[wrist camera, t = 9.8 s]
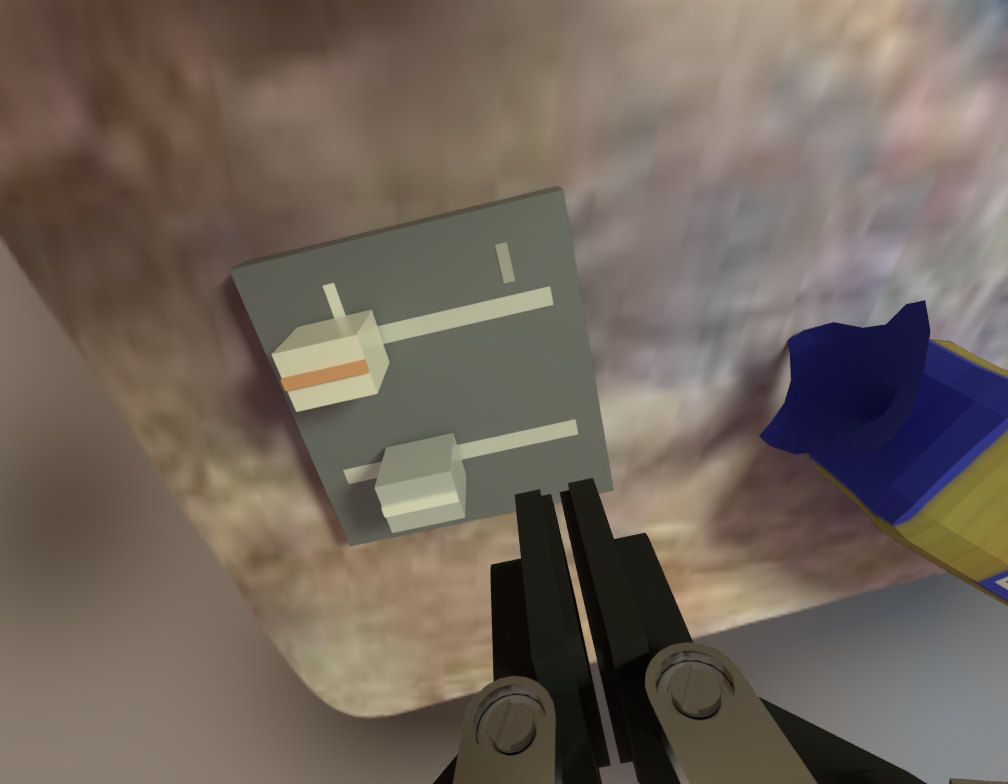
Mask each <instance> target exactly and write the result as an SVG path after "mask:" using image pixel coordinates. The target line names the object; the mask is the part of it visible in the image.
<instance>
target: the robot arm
mask: <svg viewBox="0 0 1008 784" xmlns="http://www.w3.org/2000/svg"><path fill="white" fill-rule="evenodd" d="M568 487H569V490H566V491H562V492H559V493H560V497H561V502H562V506H563V511H564V515H565V520H566V524H567V529H568V533H569V538H570V542H571V547H572V551H573V556H574V560H575V564H576V569H577V573H578V578H579V582H580V587H581V591H582V596H583V600H584V605H585V609H586V613H587V618H588V622H589V627H590V631H591V635H592V640H593V644H594V648H595V653H596V657H597V662H598V666H599V670H600V675H601V679H602V684H603V688H604V692H605V697H606V701H607V705H608V710H609V714H610V718H611V723H612V727H613V732H614V736H615V741H616V745H617V749H618V754H619V758H620V762H621V763H627V762H632V761H633V764H634V768H635V772H636V776H637V780H638V783H640V784H926V783H925V782H923V781H922V780H920V779H919V778H917V777H915V776H914V775H912V774H911V773H909V772H907V771H905V770H903V769H901V768H899V767H897V766H895V765H893V764H891V763H889V762H887V761H885V760H883V759H881V758H879V757H877V756H875V755H873V754H871V753H869V752H867V751H865V750H864V749H861V748H859V747H857V746H855V745H854V744H852V743H850V742H848V741H846V740H844V739H842V738H840V737H837V736H836V735H834V734H832V733H830V732H828V731H826V730H824V729H822V728H820V727H818V726H816V725H814V724H812V723H810V722H808V721H806V720H804V719H802V718H800V717H798V716H796V715H794V714H792V713H790V712H788V711H786V710H784V709H782V708H780V707H778V706H776V705H774V704H772V703H770V702H768V701H766V700H764V699H762V698H760V697H758V696H757V694H756V693H755V691H754V690H753V688H752V687H751V686H750V684H749V682H748V681H747V680H746V678H745V677H744V675H743V674H742V672H741V671H740V669H739V668H738V667H737V666H736V665H735V664H734V662H733V661H732V660H731V659H730V658H729V657H728V656H726V655H725V654H723V653H722V652H720V651H719V650H717V649H715V648H713V647H710V646H707V645H704V644H701V643H693V641H692V639H691V636H690V634H689V632H688V629H687V627H686V624H685V622H684V620H683V617H682V615H681V613H680V610H679V608H678V606H677V603H676V601H675V599H674V596H673V594H672V592H671V589H670V587H669V584H668V582H667V580H666V577H665V575H664V573H663V570H662V568H661V566H660V563H659V561H658V559H657V556H656V554H655V552H654V549H653V547H652V544H651V542H650V540H649V538H648V536H647V534H646V533H642V534H637V535H632V536H627V537H622V538H618V539H614V538H613V535H612V532H611V529H610V526H609V523H608V520H607V517H606V514H605V511H604V508H603V505H602V502H601V499H600V496H599V493H598V490H597V487H596V484H595V482H594V479H593V478H589V479H584V480H580V481H575V482H570V483H568ZM515 504H516V513H517V523H518V533H519V542H520V552H521V559H516V560H511V561H507V562H502V563H497V564H492V565H491V572H490V575H491V609H492V642H493V676H494V682H492V683H490V684H488V685H486V686H485V687H484V688H483V689H482V690H481V691H480V692H479V693H477V694H476V696H475V697H474V699H473V700H472V702H471V703H470V705H469V707H468V709H467V712H466V715H465V718H464V721H463V728H462V733H461V739H460V745H459V751H458V754H457V756H456V757H455V758H454V759H453V760H452V762H451V763H450V764H449V765H448V766H447V768H446V769H445V770H444V771H443V772H442V774H441V775H440V776H439V777H438V778H437V780H436V781H435V782H434V783H433V784H602V782H601V777H600V771H599V767H605V766H610V760H609V755H608V750H607V746H606V741H605V736H604V731H603V727H602V722H601V717H600V712H599V708H598V703H597V698H596V693H595V689H594V684H593V679H592V675H591V670H590V665H589V660H588V656H587V651H586V646H585V641H584V637H583V632H582V627H581V622H580V618H579V613H578V608H577V604H576V599H575V594H574V590H573V586H572V581H571V577H570V573H569V568H568V564H567V560H566V555H565V551H564V547H563V542H562V538H561V534H560V529H559V525H558V521H557V516H556V512H555V508H554V503H553V499H552V495H551V494H548V495H543V496H542V495H541V491H540V489H538V490H533V491H528V492H524V493H519V494H515ZM949 784H1008V782H997V781H982V780H967V779H954V778H953V779H952V778H950V780H949Z"/></svg>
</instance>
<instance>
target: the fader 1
mask: <svg viewBox="0 0 1008 784" xmlns="http://www.w3.org/2000/svg"><path fill="white" fill-rule="evenodd" d="M271 355H272V357H273V359H274V362H275V364H276V366H277V369H278V371H279V373H280V376H281V380H280V381H281V383H282V385H283V387H284V390H285V391H287V392H288V394H289V396H290V399H291V401H292V403H293V406H294V408H295V410H296V412H299V411H303V410H307V409H312V408H316V407H321V406H325V405H330V404H334V403H339V402H343V401H347V400H352V399H356V398H361V397H365V396H370V395H374V394H377V393H378V391H379V388H380V386H381V383H382V381H383V378H384V375H385V373H386V370H387V368H388V365H389V363H390V362H389V359H388V356H387V353H386V350H385V347H384V345H383V342H382V339H381V336H380V333H379V330H378V327H377V324H376V321H375V318H374V315H373V312H372V310H368V311H364V312H360V313H355V314H351V315H347V316H343V317H338V318H334V319H330V320H325V321H321V322H317V323H313V324H308V325H304V326H300V327H297V328H296V329H295V330H294V331H293V332H292V333H291V334H290V335H289V336H288V338H287V339H286V340H285V341H284V342H283V343H282V344H281V345H280V346H279V347H278V348H277V349H276V350H275V351H274V352H273V353H272V354H271Z"/></svg>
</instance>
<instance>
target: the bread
mask: <svg viewBox="0 0 1008 784" xmlns="http://www.w3.org/2000/svg"><path fill="white" fill-rule="evenodd" d="M929 337H930V326H929V320H928V314H927V308H926V303H925V300H924V301H920V302H915V303H910V304H906V305H905V306H904V307H903V308H902V309H901V310H900V311H899V312H898V313H897V314H896V315H895V316H894V317H893V318H892V319H891V320H890V321H889V322H888V323H887V324H886V325H879V326H872V327H865V328H861V327H856V326H851V325H845V324H840V323H835V322H832V323H829V324H825V325H822V326H818V327H814V328H811V329H807V330H803V331H802V332H800V333H798V334H797V335H795V336H794V337H792V338H790V339H789V340H788V346H789V352H790V368H791V382H790V385H789V389H788V392H787V396H786V399H785V403H784V404H783V406H782V407H781V408H780V410H779V411H778V413H777V414H776V416H775V417H774V419H773V420H772V421H771V423H770V424H769V425H768V426H767V428H766V429H765V430H764V431H763V432H762V433H761V434H760V435H759V436H760V437H761V438H762V439H763V440H764V441H765V442H766V443H767V444H768V445H769V446H772V447H776V448H779V449H782V450H785V451H788V452H791V453H794V454H801V453H809V455H810V457H811V459H812V461H813V463H814V465H815V466H816V468H817V470H818V472H819V474H821V475H822V476H823V477H824V478H826V479H827V480H828V481H830V482H831V483H832V484H833V485H835V486H836V487H837V488H839V489H840V490H841V491H842V492H843V493H844V494H846V495H847V496H848V497H849V498H850V499H851V500H852V501H854V502H855V503H856V504H857V505H858V506H859V507H860V508H861V509H862V510H863V511H864V512H865V513H866V515H867V516H868V517H869V518H870V519H871V520H872V521H873V522H874V524H875V525H876V526H877V527H878V528H879V529H880V530H881V531H883V532H884V533H886V534H887V535H889V536H890V537H892V538H893V539H895V540H896V541H898V542H899V543H901V544H902V545H904V546H905V547H907V548H909V549H911V550H912V551H914V552H916V553H917V554H919V555H921V556H922V557H924V558H926V559H927V560H929V561H931V562H932V563H934V564H936V565H937V566H939V567H941V568H942V569H944V570H946V571H948V572H949V573H951V574H953V575H954V576H956V577H958V578H959V579H961V580H963V581H964V582H966V583H968V584H970V585H972V586H973V587H975V588H976V589H978V590H980V591H982V592H984V593H985V594H987V595H989V596H991V597H993V598H994V599H996V600H998V601H1000V602H1002V603H1003V604H1005V605H1007V606H1008V370H1005V369H1002V368H1000V367H998V366H996V365H994V364H992V363H990V362H988V361H986V360H984V359H982V358H980V357H978V356H976V355H974V354H972V353H970V352H968V351H967V350H965V349H963V348H961V347H960V346H958V345H956V344H954V343H953V342H951V341H949V340H945V339H937V338H929Z"/></svg>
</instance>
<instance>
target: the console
mask: <svg viewBox="0 0 1008 784" xmlns="http://www.w3.org/2000/svg"><path fill="white" fill-rule="evenodd" d="M229 271H230V273H231V275H232V278H233V280H234V282H235V285H236V287H237V289H238V291H239V294H240V296H241V298H242V301H243V303H244V305H245V307H246V310H247V312H248V314H249V317H250V319H251V321H252V323H253V326H254V328H255V330H256V333H257V335H258V337H259V339H260V342H261V344H262V346H263V349H264V351H265V353H266V355H267V358H268V360H269V362H270V365H271V367H272V369H273V371H274V374H275V376H276V378H277V381H278V383H279V385H280V387H281V390H282V392H283V394H284V397H285V399H286V401H287V403H288V406H289V408H290V410H291V413H292V415H293V417H294V419H295V422H296V424H297V426H298V429H299V431H300V433H301V435H302V438H303V440H304V442H305V445H306V447H307V449H308V451H309V454H310V456H311V458H312V461H313V463H314V465H315V467H316V470H317V472H318V474H319V476H320V479H321V481H322V483H323V486H324V488H325V490H326V492H327V495H328V497H329V499H330V502H331V504H332V506H333V508H334V511H335V513H336V515H337V518H338V520H339V522H340V524H341V527H342V529H343V531H344V534H345V536H346V538H347V540H348V543H349V545H350V546H354V545H358V544H363V543H368V542H372V541H377V540H382V539H387V538H391V537H396V536H401V535H406V534H410V533H415V532H420V531H425V530H429V529H434V528H439V527H443V526H448V525H453V524H458V523H462V522H467V521H472V520H477V519H481V518H486V517H491V516H496V515H500V514H505V513H510V512H514V511H516V504H515V494H519V493H524V492H528V491H533V490H538V489H540V491H541V495H542V496H543V495H548V494H551V495H552V499H553V503H557V502H561V497H560V493H559V492H562V491H566V490H569V487H568V483H570V482H575V481H580V480H584V479H589V478H593V479H594V482H595V484H596V487H597V490H598V493H599V494H600V493H604V492H609V491H614V490H613V484H612V478H611V472H610V466H609V460H608V454H607V448H606V442H605V436H604V430H603V424H602V418H601V412H600V406H599V400H598V394H597V388H596V382H595V376H594V370H593V364H592V358H591V352H590V346H589V340H588V334H587V328H586V322H585V316H584V311H583V305H582V299H581V293H580V287H579V281H578V275H577V269H576V263H575V257H574V251H573V245H572V239H571V233H570V227H569V221H568V215H567V209H566V203H565V197H564V191H563V189H561V188H560V187H558V186H557V187H553V188H549V189H545V190H540V191H536V192H532V193H528V194H524V195H520V196H516V197H511V198H507V199H503V200H499V201H495V202H491V203H487V204H482V205H478V206H474V207H470V208H466V209H462V210H457V211H453V212H449V213H445V214H441V215H437V216H433V217H428V218H424V219H420V220H416V221H412V222H408V223H404V224H399V225H395V226H391V227H387V228H383V229H379V230H375V231H370V232H366V233H362V234H358V235H354V236H350V237H346V238H341V239H337V240H333V241H329V242H325V243H321V244H317V245H312V246H308V247H304V248H300V249H296V250H292V251H287V252H283V253H279V254H275V255H271V256H267V257H263V258H258V259H254V260H250V261H246V262H243V263H241V264H240V265H238V266H236V267H234V268H232V269H230V270H229ZM368 310H372V312H373V315H374V318H375V321H376V324H377V327H378V330H379V333H380V336H381V339H382V342H383V345H384V347H385V350H386V353H387V356H388V359H389V362H390V363H389V365H388V368H387V370H386V373H385V375H384V378H383V381H382V383H381V386H380V388H379V391H378V393H377V394H374V395H370V396H365V397H361V398H356V399H352V400H347V401H343V402H339V403H334V404H330V405H325V406H321V407H316V408H312V409H307V410H303V411H299V412H296V410H295V408H294V406H293V403H292V401H291V399H290V396H289V394H288V392H287V391H285V390H284V387H283V385H282V383H281V381H280V380H281V376H280V373H279V371H278V369H277V366H276V364H275V362H274V359H273V357H272V355H271V354H272V353H273V352H274V351H275V350H276V349H277V348H278V347H279V346H280V345H281V344H282V343H283V342H284V341H285V340H286V339H287V338H288V336H289V335H290V334H291V333H292V332H293V331H294V330H295V329H296V328H297V327H300V326H304V325H308V324H313V323H317V322H321V321H325V320H330V319H334V318H338V317H343V316H347V315H351V314H355V313H360V312H364V311H368ZM450 433H454V436H455V440H456V443H457V446H458V450H459V453H460V456H461V460H462V463H463V466H464V470H465V473H466V504H465V518H461V519H456V520H452V521H447V522H442V523H438V524H433V525H428V526H423V527H419V528H414V529H409V530H404V531H400V532H395V533H392V531H391V528H390V526H389V523H388V521H387V518H385V517H384V514H383V512H382V509H381V507H382V505H381V503H380V500H379V498H378V495H377V493H376V490H375V484H376V481H377V477H378V474H379V470H380V467H381V464H382V460H383V457H384V453H385V450H386V448H387V447H391V446H396V445H400V444H405V443H410V442H414V441H419V440H423V439H428V438H432V437H437V436H441V435H446V434H450Z"/></svg>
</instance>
